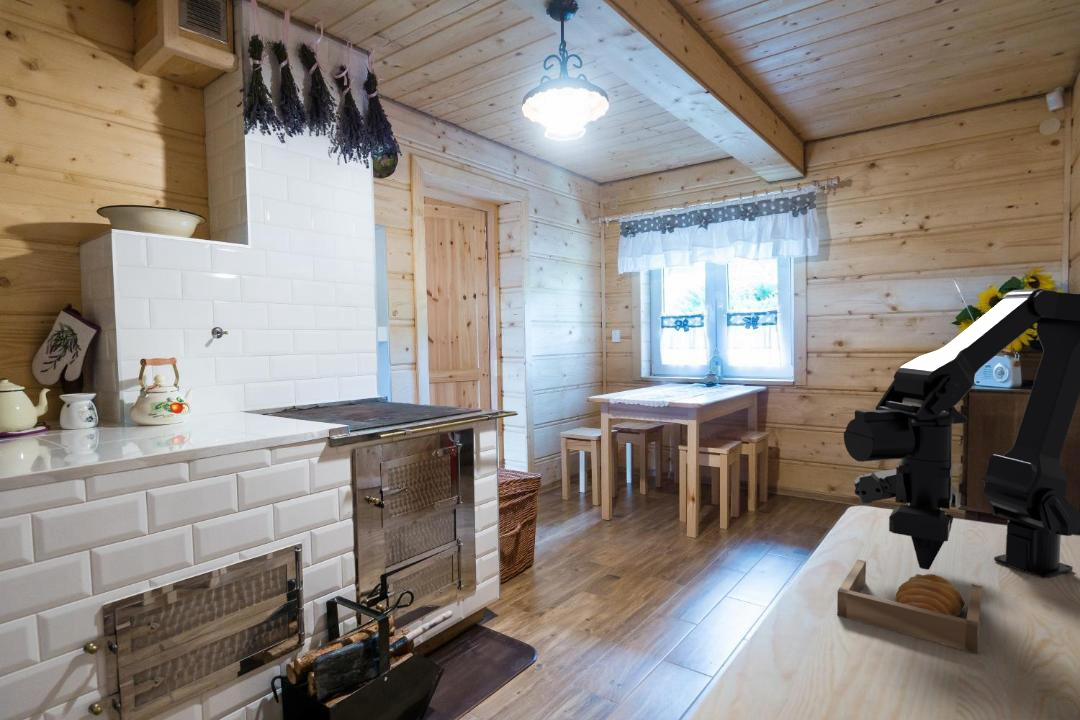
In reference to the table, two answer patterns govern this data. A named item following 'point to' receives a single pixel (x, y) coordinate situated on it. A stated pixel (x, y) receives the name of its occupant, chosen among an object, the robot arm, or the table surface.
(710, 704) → the table surface
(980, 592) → the wooden frame
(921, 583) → the pastry
